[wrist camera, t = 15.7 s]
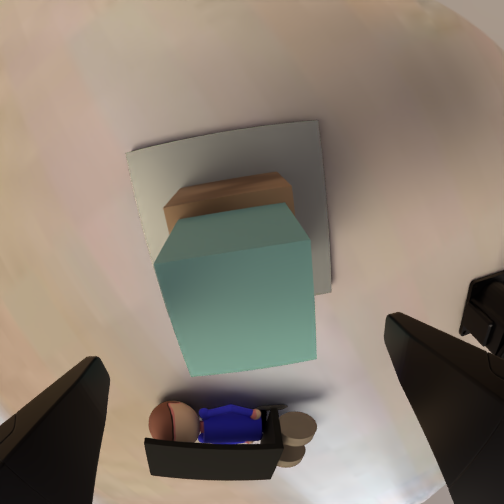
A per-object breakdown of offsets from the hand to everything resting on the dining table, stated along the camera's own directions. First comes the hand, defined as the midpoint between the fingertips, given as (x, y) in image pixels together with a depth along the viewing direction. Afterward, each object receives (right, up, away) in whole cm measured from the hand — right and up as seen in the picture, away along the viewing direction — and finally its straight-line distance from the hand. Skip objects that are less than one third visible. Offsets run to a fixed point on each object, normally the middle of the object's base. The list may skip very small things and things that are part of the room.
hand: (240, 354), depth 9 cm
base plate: (-1, +5, +12) cm, 13 cm away
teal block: (0, +3, +7) cm, 7 cm away
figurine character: (-2, -13, +20) cm, 24 cm away
